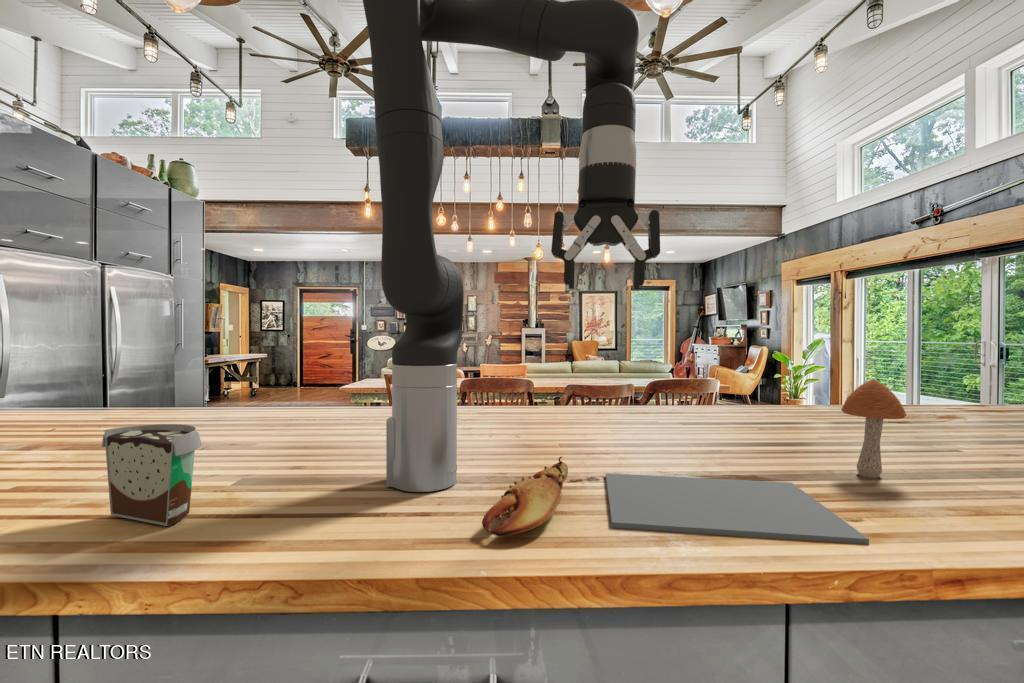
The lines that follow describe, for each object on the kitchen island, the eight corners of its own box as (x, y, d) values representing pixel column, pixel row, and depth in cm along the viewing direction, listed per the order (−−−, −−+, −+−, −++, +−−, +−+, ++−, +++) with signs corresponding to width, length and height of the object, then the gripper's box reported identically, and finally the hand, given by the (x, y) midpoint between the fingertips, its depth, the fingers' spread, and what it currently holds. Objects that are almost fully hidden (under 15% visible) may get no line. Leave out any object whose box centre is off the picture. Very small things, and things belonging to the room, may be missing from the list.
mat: (611, 527, 54) (612, 522, 54) (605, 477, 72) (605, 473, 72) (869, 544, 50) (869, 539, 50) (791, 486, 68) (791, 482, 68)
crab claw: (594, 459, 64) (527, 537, 47) (589, 493, 66) (522, 581, 48) (547, 444, 68) (468, 512, 50) (543, 477, 69) (465, 555, 52)
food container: (226, 508, 59) (225, 427, 59) (176, 527, 53) (176, 437, 53) (155, 496, 63) (155, 420, 63) (102, 513, 57) (101, 429, 57)
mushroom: (896, 474, 75) (897, 378, 75) (913, 488, 68) (915, 382, 68) (835, 467, 78) (837, 375, 78) (845, 481, 71) (847, 380, 71)
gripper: (552, 161, 62) (548, 286, 63) (666, 157, 60) (661, 288, 60) (556, 179, 70) (553, 291, 70) (658, 176, 67) (654, 292, 68)
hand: (603, 289), depth 65 cm, fingers open, 8 cm apart
